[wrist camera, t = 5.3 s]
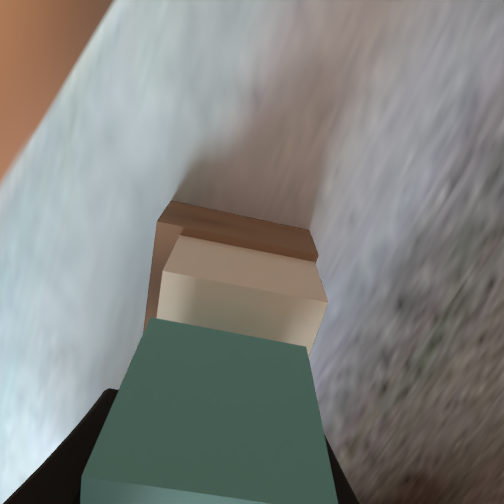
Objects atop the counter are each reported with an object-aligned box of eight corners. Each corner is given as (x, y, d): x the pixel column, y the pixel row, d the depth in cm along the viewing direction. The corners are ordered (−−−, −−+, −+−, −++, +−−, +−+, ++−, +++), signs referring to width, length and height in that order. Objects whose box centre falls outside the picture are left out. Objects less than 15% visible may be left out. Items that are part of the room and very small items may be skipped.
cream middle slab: (280, 364, 17) (286, 417, 14) (163, 344, 17) (146, 395, 14) (314, 261, 15) (328, 302, 12) (179, 234, 14) (162, 270, 12)
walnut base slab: (274, 335, 20) (278, 375, 17) (156, 313, 19) (141, 351, 17) (307, 227, 17) (318, 254, 15) (172, 198, 17) (156, 221, 14)
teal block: (268, 449, 12) (275, 628, 8) (135, 428, 12) (74, 607, 8) (306, 346, 11) (340, 513, 6) (150, 317, 10) (81, 476, 6)
